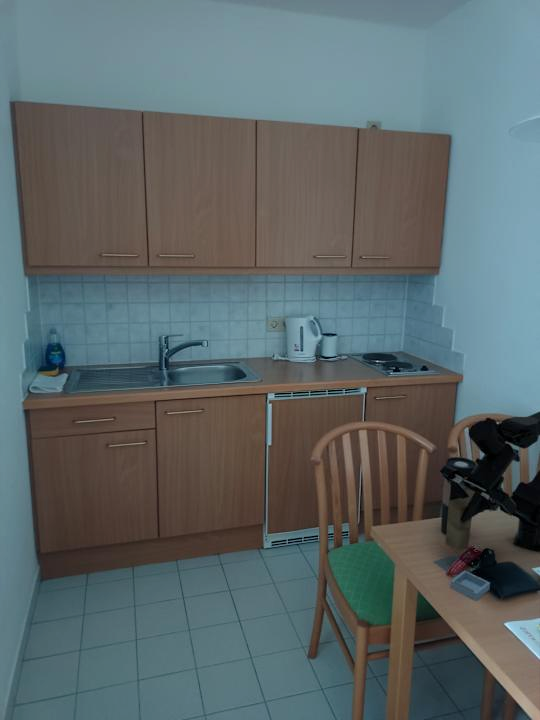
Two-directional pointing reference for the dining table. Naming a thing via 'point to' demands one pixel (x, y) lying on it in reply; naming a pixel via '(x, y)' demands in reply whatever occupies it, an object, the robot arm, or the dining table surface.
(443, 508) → the travel mug
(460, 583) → the socket block
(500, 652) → the dining table surface
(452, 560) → the mat
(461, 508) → the olive tall block
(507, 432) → the robot arm
